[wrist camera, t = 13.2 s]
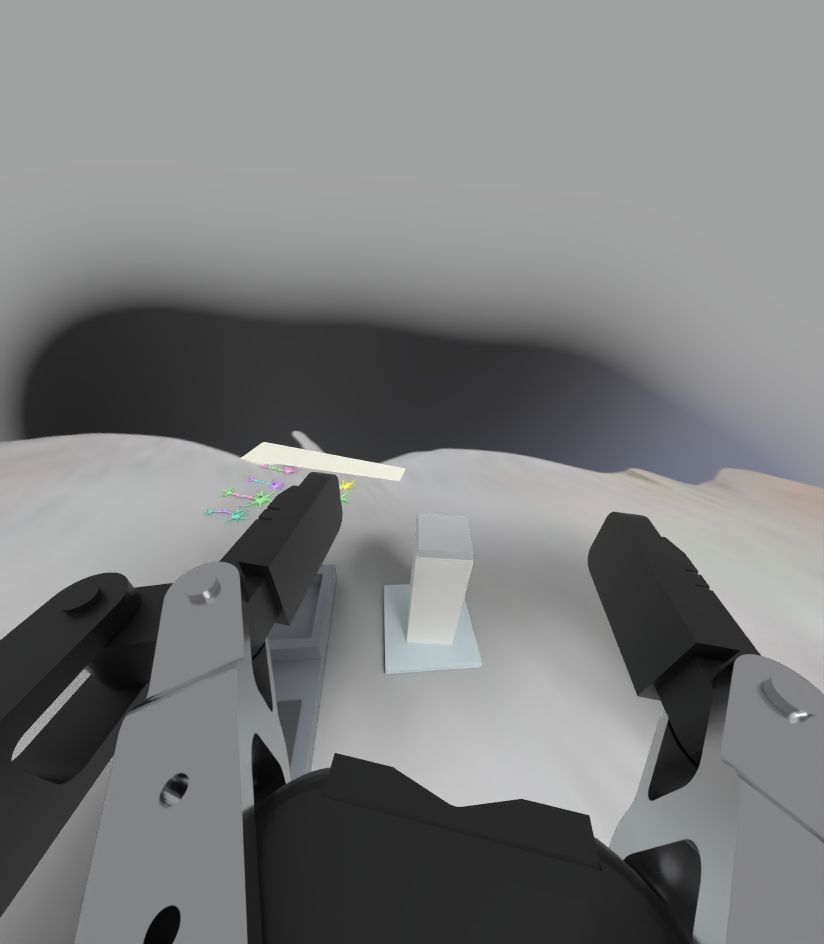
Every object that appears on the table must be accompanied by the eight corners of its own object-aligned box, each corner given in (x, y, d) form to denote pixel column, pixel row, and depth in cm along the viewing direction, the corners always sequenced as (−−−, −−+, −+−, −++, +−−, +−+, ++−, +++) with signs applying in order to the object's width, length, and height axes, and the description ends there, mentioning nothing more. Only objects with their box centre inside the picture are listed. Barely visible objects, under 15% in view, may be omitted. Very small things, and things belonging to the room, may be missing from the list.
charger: (448, 603, 33) (468, 515, 26) (451, 645, 29) (475, 554, 22) (408, 601, 33) (417, 511, 26) (406, 642, 29) (416, 550, 22)
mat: (459, 585, 36) (460, 582, 36) (481, 667, 28) (482, 664, 28) (383, 588, 35) (383, 585, 35) (385, 674, 27) (385, 671, 27)
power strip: (336, 579, 35) (333, 552, 33) (238, 1305, 10) (198, 1415, 8) (265, 581, 35) (256, 554, 32) (-29, 1384, 10) (-167, 1537, 7)
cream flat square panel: (405, 470, 57) (405, 463, 56) (335, 616, 33) (334, 608, 32) (263, 443, 62) (262, 437, 61) (110, 553, 37) (104, 545, 37)
